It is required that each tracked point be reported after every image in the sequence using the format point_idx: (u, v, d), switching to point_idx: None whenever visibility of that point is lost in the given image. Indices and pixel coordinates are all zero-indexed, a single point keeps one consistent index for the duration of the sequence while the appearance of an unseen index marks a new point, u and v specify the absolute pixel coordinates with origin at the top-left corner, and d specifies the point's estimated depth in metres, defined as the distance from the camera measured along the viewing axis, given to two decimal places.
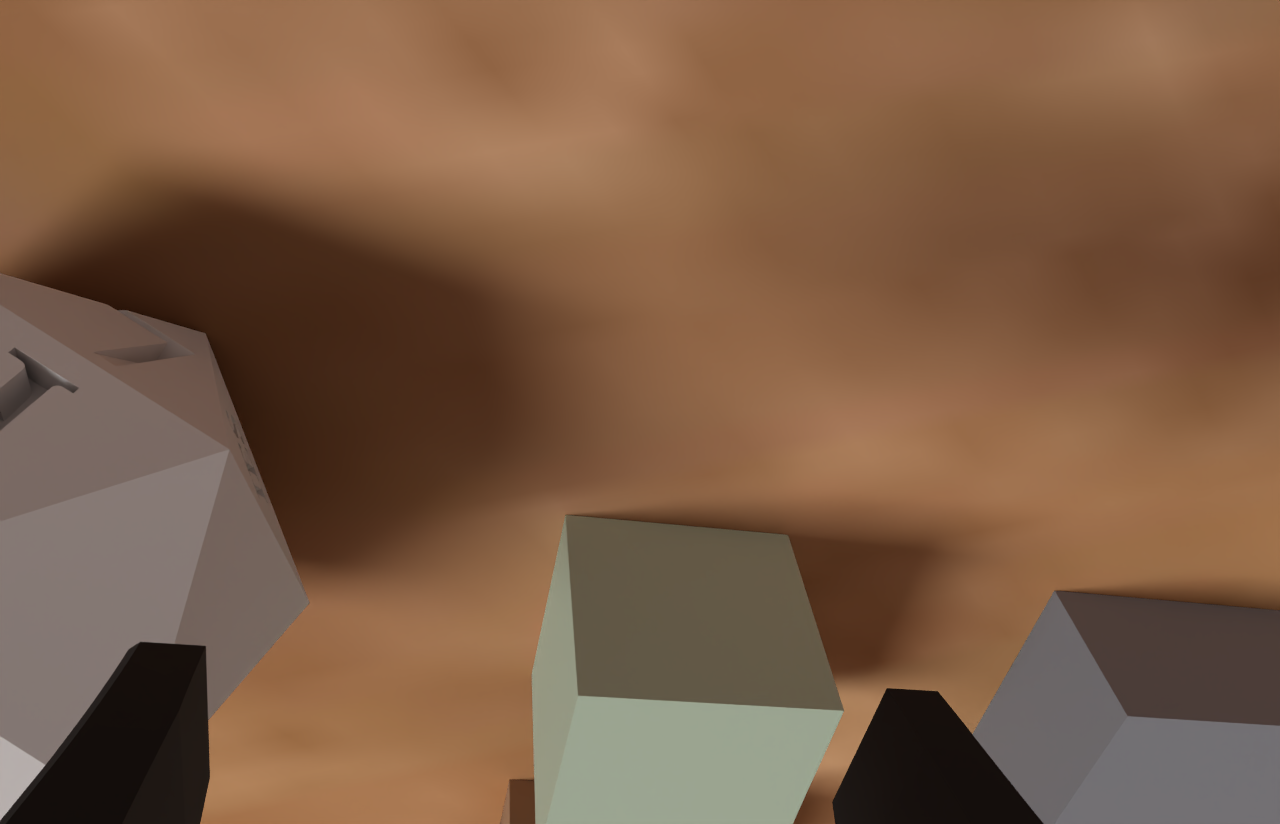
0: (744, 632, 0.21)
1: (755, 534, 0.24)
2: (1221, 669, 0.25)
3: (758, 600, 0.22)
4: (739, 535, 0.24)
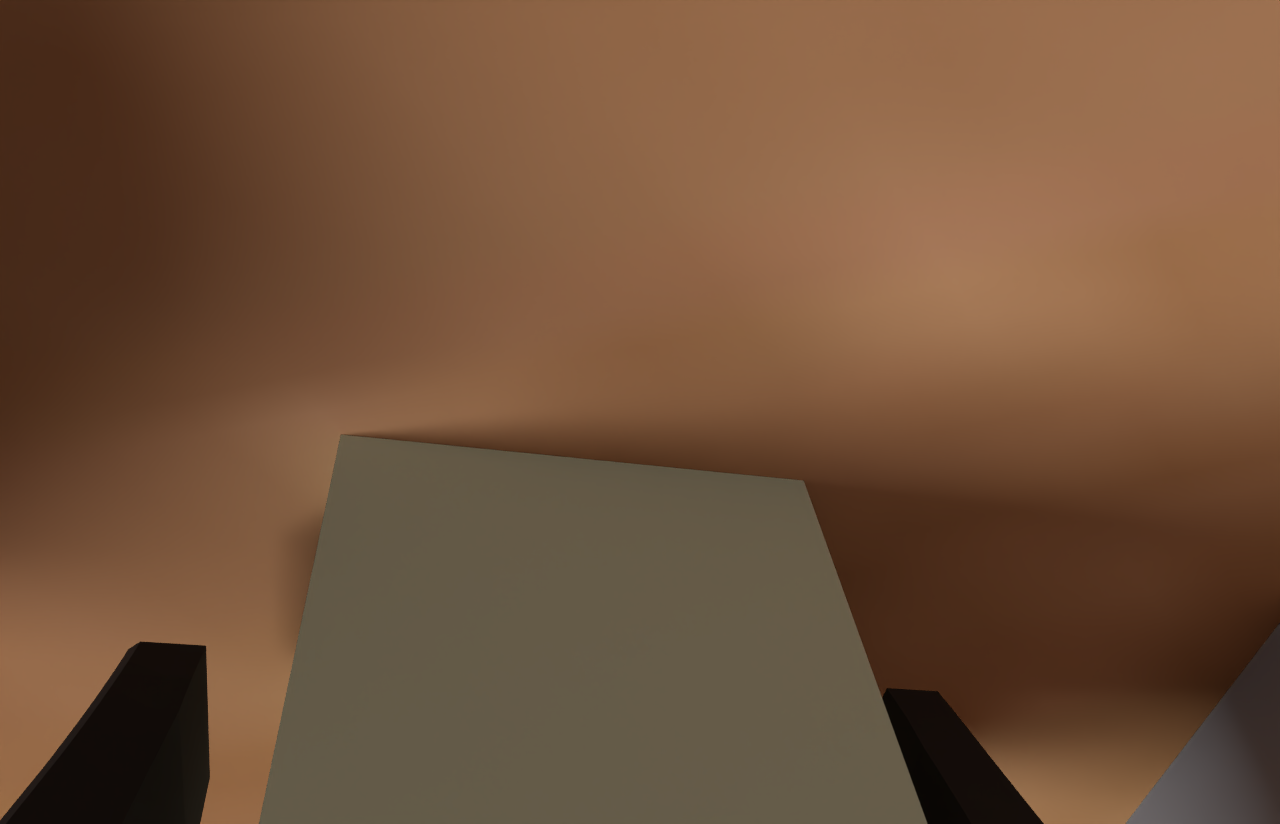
0: (708, 686, 0.09)
1: (738, 479, 0.12)
2: None
3: (741, 613, 0.10)
4: (705, 480, 0.12)
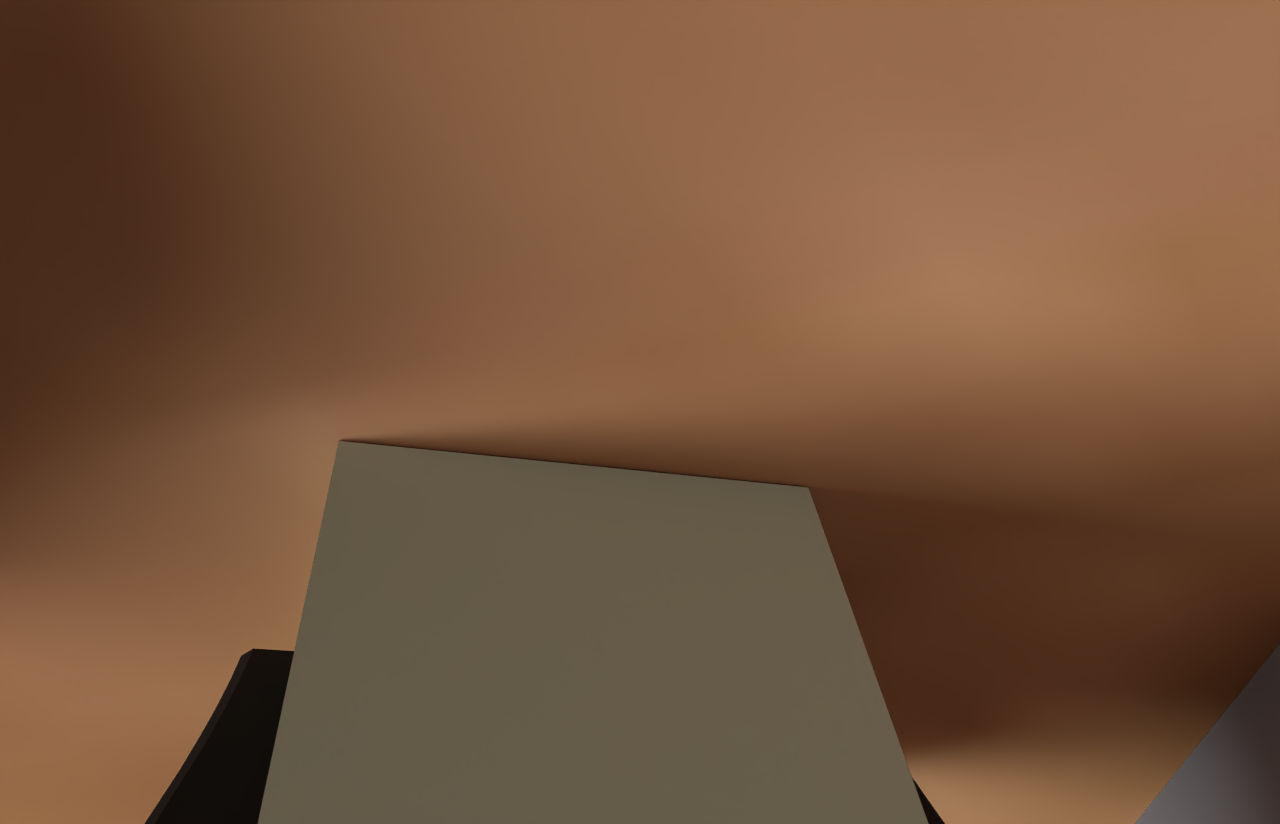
0: (713, 709, 0.09)
1: (743, 491, 0.12)
2: None
3: (746, 632, 0.10)
4: (710, 492, 0.11)
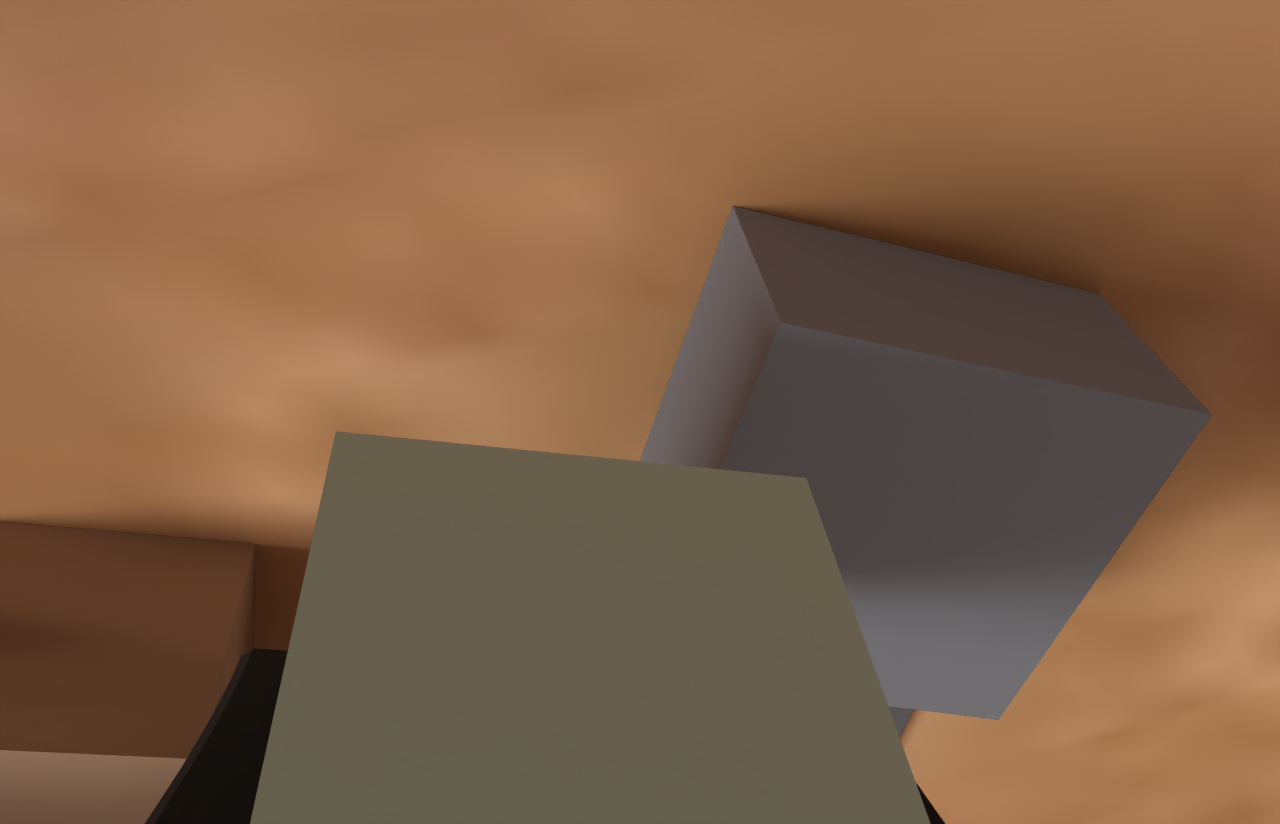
0: (709, 696, 0.09)
1: (741, 481, 0.12)
2: (954, 313, 0.17)
3: (744, 620, 0.10)
4: (707, 482, 0.11)
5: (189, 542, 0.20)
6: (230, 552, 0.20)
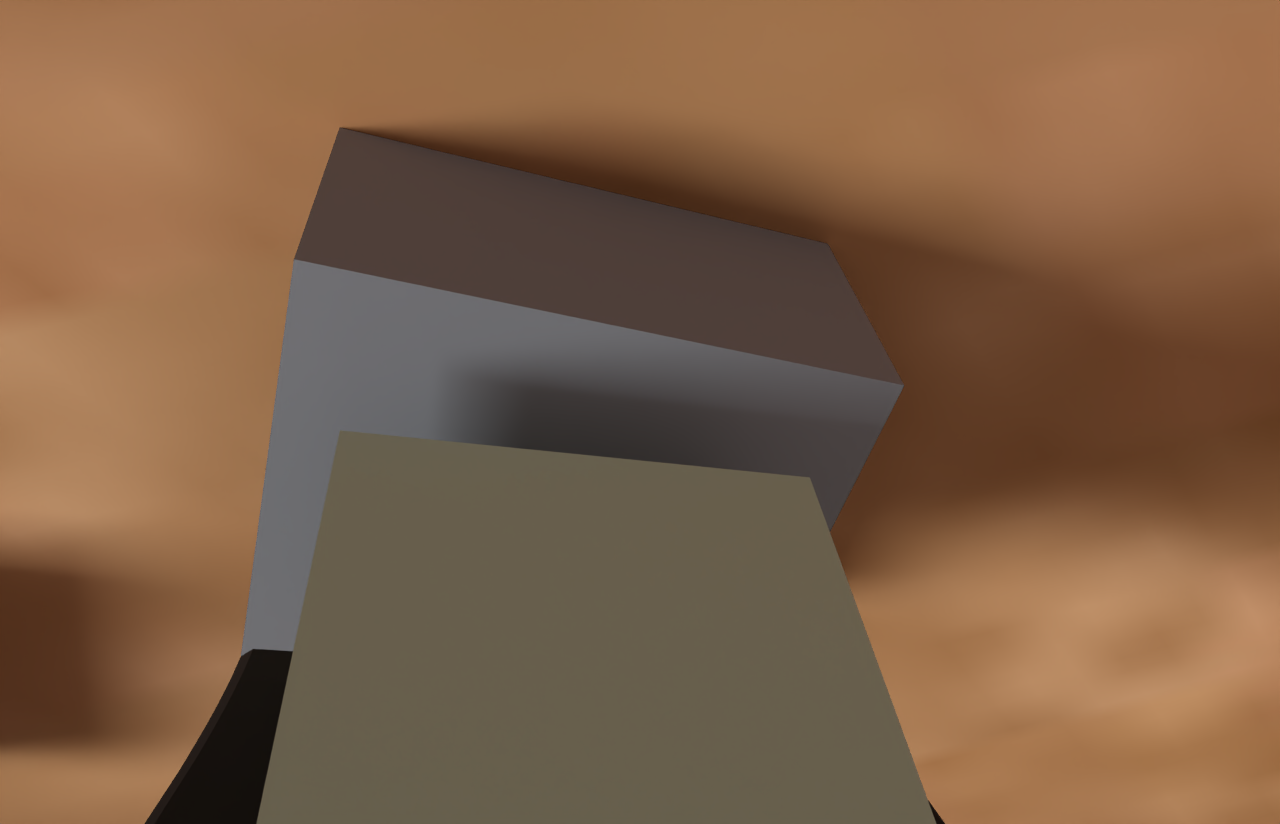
0: (714, 697, 0.09)
1: (744, 480, 0.12)
2: (588, 257, 0.13)
3: (749, 619, 0.10)
4: (711, 482, 0.11)
5: None
6: None
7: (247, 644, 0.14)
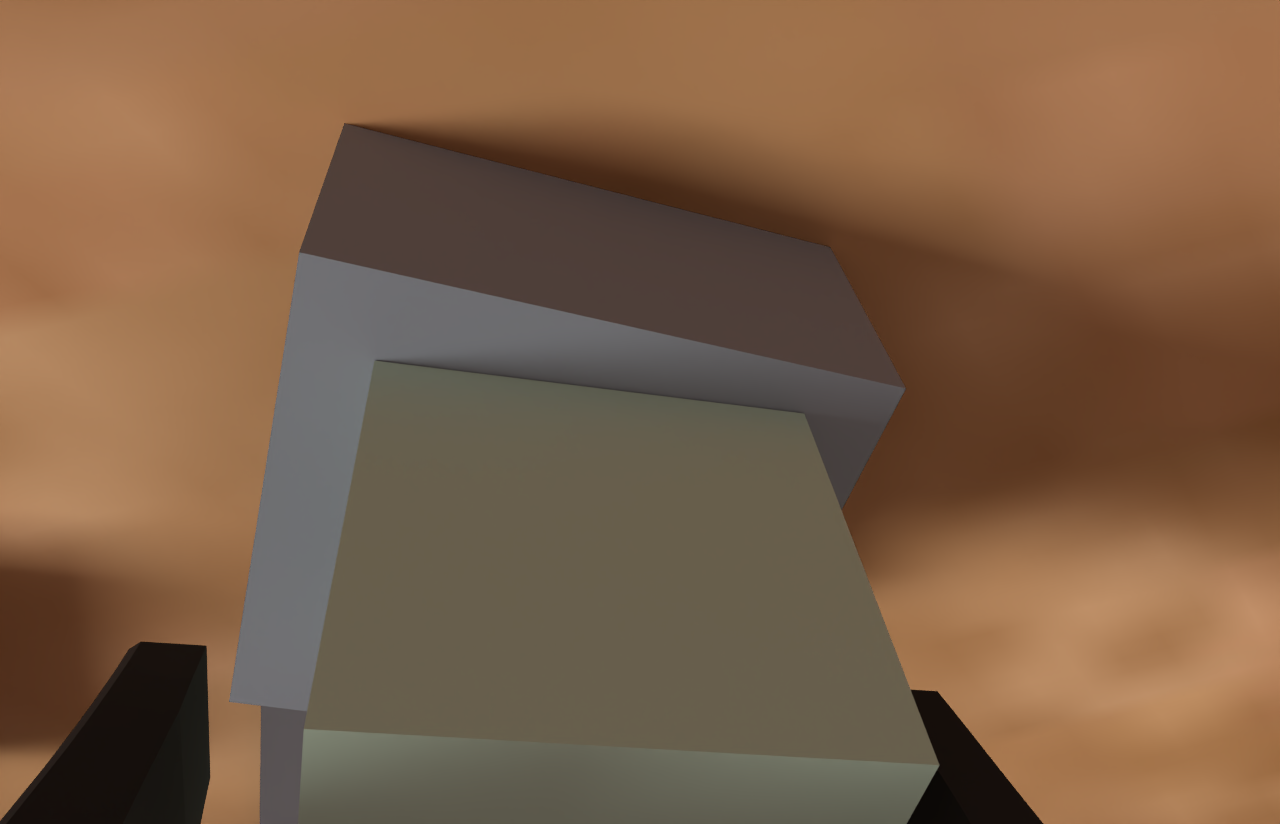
0: (717, 589, 0.10)
1: (744, 414, 0.13)
2: (593, 255, 0.13)
3: (747, 528, 0.11)
4: (713, 414, 0.12)
5: None
6: None
7: (244, 638, 0.14)
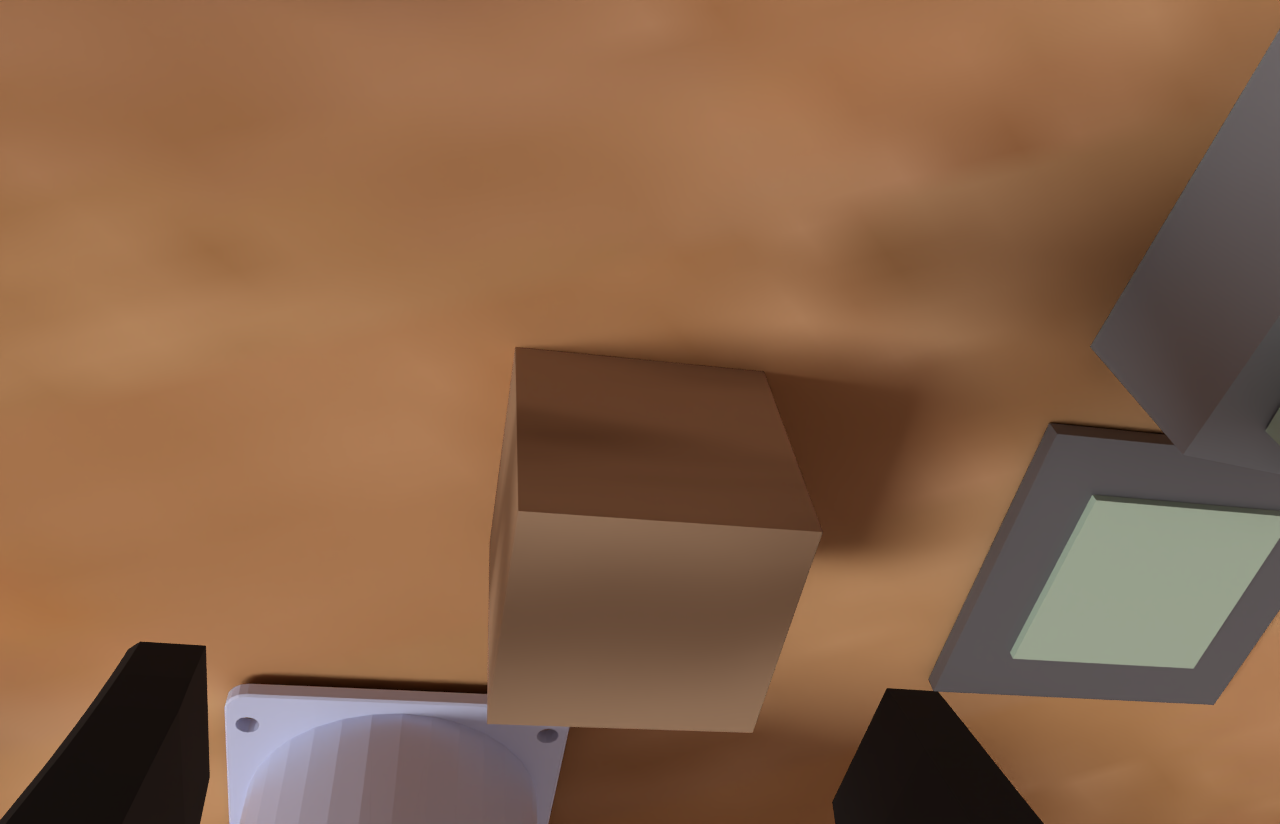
0: None
1: None
2: None
3: None
4: None
5: (709, 369, 0.22)
6: (748, 377, 0.22)
7: (1225, 397, 0.19)
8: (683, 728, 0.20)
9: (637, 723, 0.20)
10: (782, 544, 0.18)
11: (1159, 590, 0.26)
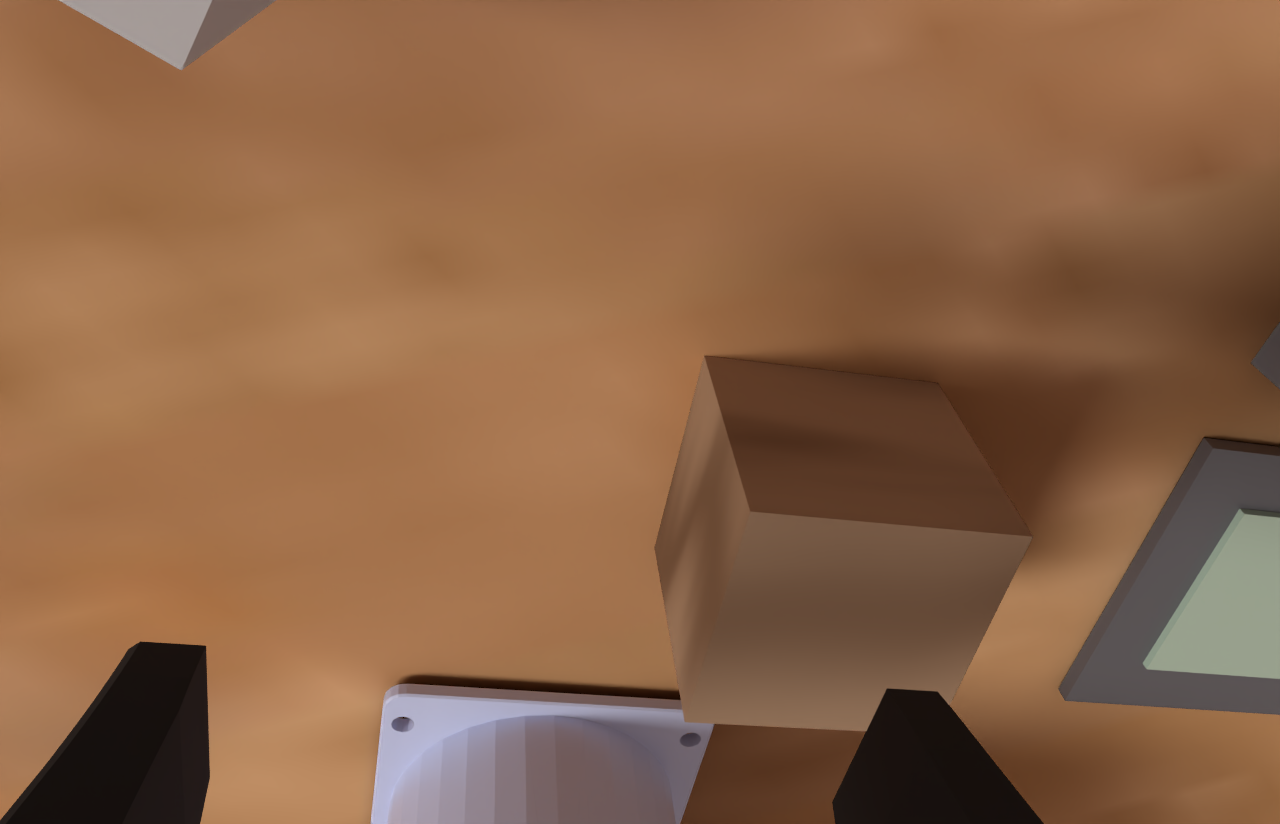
0: None
1: None
2: None
3: None
4: None
5: (887, 379, 0.22)
6: (924, 388, 0.22)
7: None
8: None
9: (826, 723, 0.21)
10: (993, 548, 0.18)
11: None
